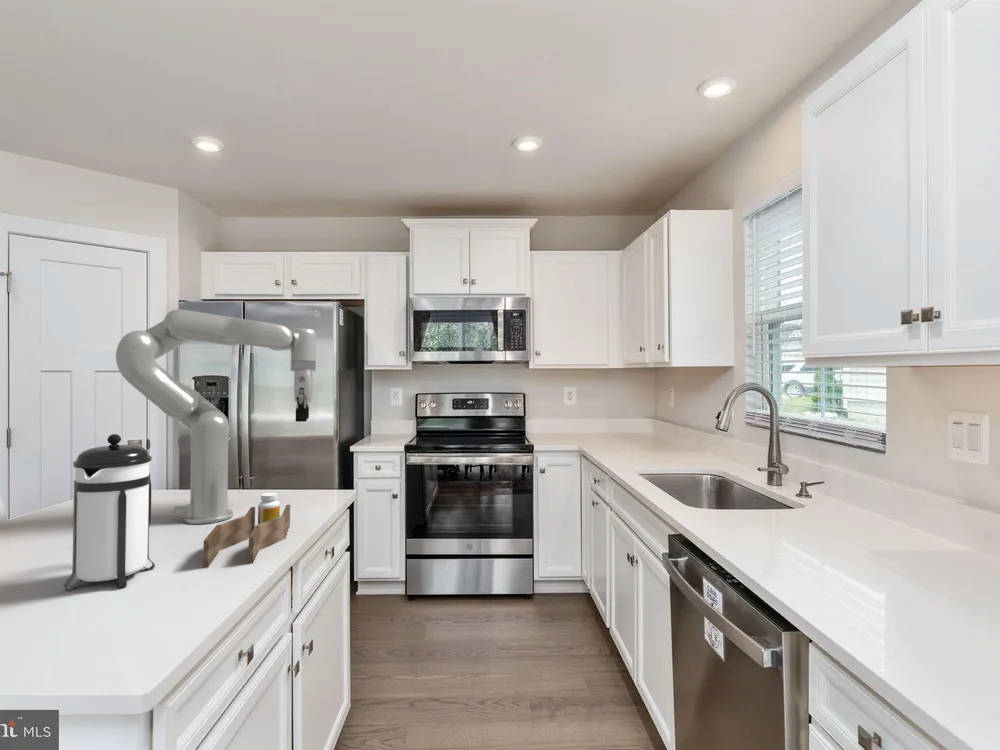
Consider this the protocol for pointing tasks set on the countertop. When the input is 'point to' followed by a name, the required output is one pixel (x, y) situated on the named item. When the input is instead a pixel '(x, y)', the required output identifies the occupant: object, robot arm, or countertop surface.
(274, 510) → the supplement bottle
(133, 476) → the coffee press
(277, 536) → the channel
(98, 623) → the countertop surface
